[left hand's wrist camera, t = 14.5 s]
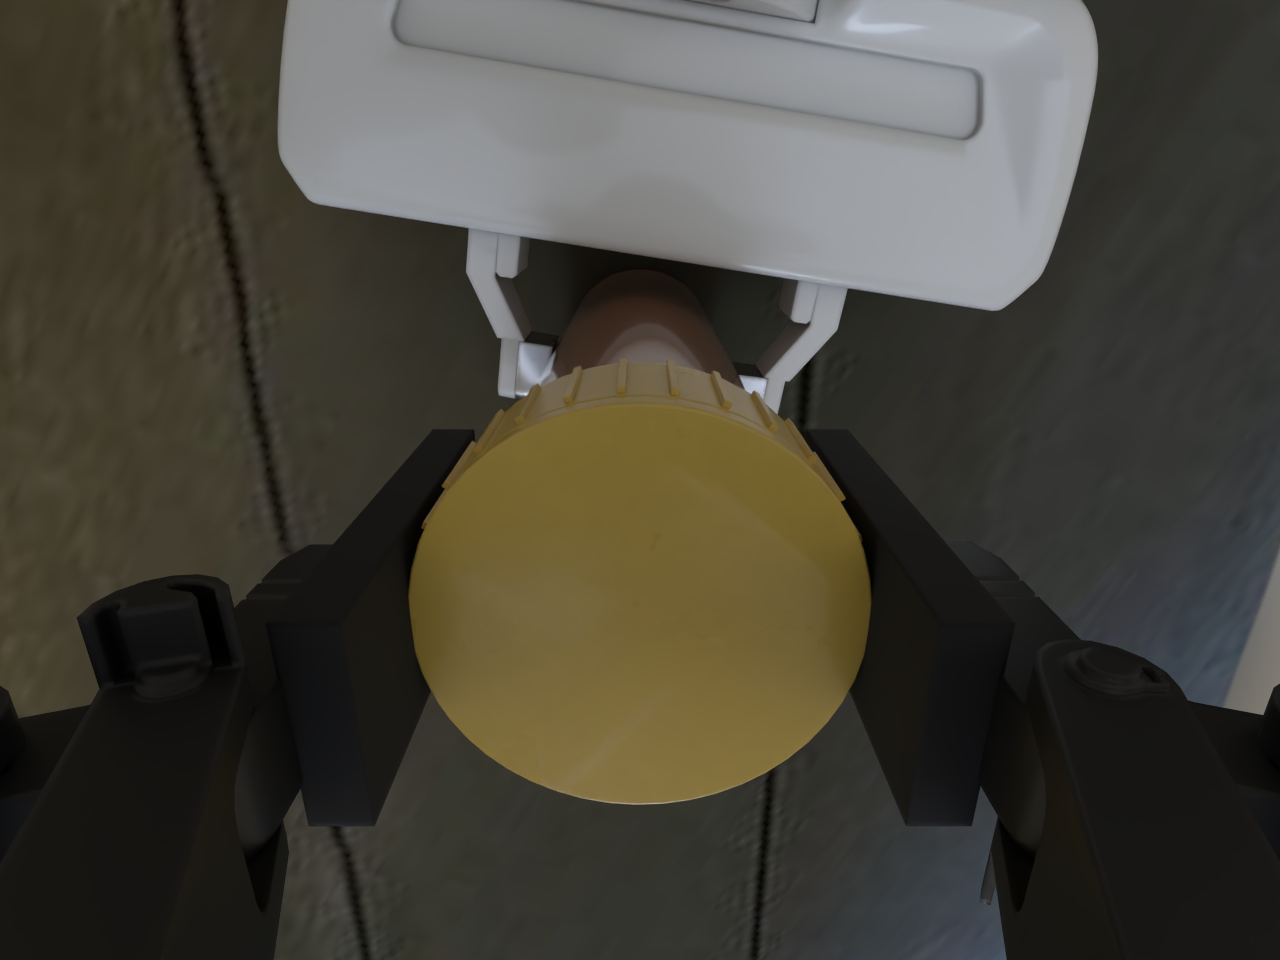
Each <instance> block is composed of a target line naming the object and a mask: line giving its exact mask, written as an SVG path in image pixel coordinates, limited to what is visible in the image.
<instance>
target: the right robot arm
mask: <svg viewBox="0 0 1280 960" xmlns="http://www.w3.org/2000/svg"><path fill="white" fill-rule="evenodd" d="M1097 69H1098V45H1097V37H1096V31H1095V27H1094V23H1093V21H1092V18H1091V16H1090V13H1089V11H1088V9H1087V8H1086V6H1085V5H1084V3H1083V2H1082V0H288V3H287V10H286V18H285V25H284V35H283V45H282V56H281V67H280V83H279V103H278V149H279V155H280V158H281V160H282V162H283V164H284V166H285V167H286V169H287V170H288V172H289V173H290V175H291V176H292V178H293V179H294V181H295V182H296V184H297V185H298V187H299V188H300V190H301V191H302V192H303V194H304V195H305V196H306V197H307V199H309V200H310V201H311V202H313V203H316V204H320V205H326V206H332V207H338V208H345V209H351V210H357V211H364V212H370V213H376V214H383V215H389V216H395V217H402V218H408V219H414V220H421V221H427V222H433V223H440V224H446V225H452V226H459V227H465V228H469V233H468V249H467V265H466V273H467V275H468V277H469V279H470V281H471V283H472V285H473V288H474V290H475V292H476V294H477V296H478V298H479V300H480V302H481V304H482V306H483V309H484V311H485V313H486V315H487V317H488V319H489V321H490V323H491V325H492V327H493V330H494V332H495V334H496V336H497V338H502V342H501V354H500V366H499V378H498V394H499V396H504V397H509V398H514V399H515V398H519V399H522V398H524V397H525V396H527V395H528V393H529V391H530V389H531V388H532V386H534V385H536V384H537V382H538V380H539V378H540V377H541V375H542V373H543V371H544V369H545V367H546V365H547V364H548V362H549V360H550V358H551V356H552V354H553V352H554V350H555V349H556V347H557V345H558V336H557V335H551V334H545V333H539V332H534V331H532V330H533V329H532V327H531V325H530V322H529V320H528V318H527V315H526V313H525V310H524V308H523V306H522V303H521V301H520V298H519V296H518V294H517V291H516V289H515V287H514V284H513V282H512V279H511V278H514V277H515V276H516V275H518V274H519V273H521V272H522V271H523V270H525V269H526V268H527V267H528V257H529V248H530V238H534V239H541V240H547V241H553V242H560V243H566V244H572V245H579V246H585V247H591V248H598V249H604V250H610V251H617V252H623V253H629V254H636V255H642V256H648V257H655V258H661V259H667V260H674V261H680V262H686V263H692V264H699V265H705V266H711V267H718V268H724V269H730V270H737V271H743V272H749V273H756V274H762V275H768V276H775V277H781V278H783V283H782V288H781V293H780V298H779V303H778V308H779V309H780V311H781V312H783V313H784V314H785V315H786V316H787V317H789V318H790V319H791V320H790V322H789V323H788V324H787V325H786V326H785V328H784V329H783V330H782V331H781V332H780V334H779V335H778V336H777V337H776V338H775V340H774V341H773V342H772V343H771V344H770V346H769V347H768V348H767V349H766V350H765V352H764V353H763V354H762V355H761V356H760V358H759V359H758V360H757V361H756V362H755V365H751V364H744V363H736V362H732V363H733V365H734V367H735V369H736V371H737V373H738V375H739V376H740V378H741V380H742V382H743V384H744V386H745V388H746V390H747V391H748V392H749V393H750V394H752V392H753V391H756V392H758V393H759V394H760V396H761V397H762V399H763V401H764V402H765V404H766V405H767V406H769V407H770V408H771V409H772V410H773V411H774V412H775V413H776V414H778V410H779V405H780V401H781V397H782V392H783V388H784V384H785V381H790V380H791V379H792V378H793V377H794V376H795V375H796V374H797V373H798V372H799V371H800V369H801V368H802V367H803V366H804V365H805V364H806V363H807V362H808V361H809V360H810V359H811V358H812V357H813V355H814V354H815V353H816V352H817V351H818V350H819V349H820V348H821V347H822V346H823V345H824V344H825V343H826V341H827V340H828V339H829V338H830V337H831V336H832V335H833V334H834V333H835V332H836V331H837V329H838V325H839V321H840V317H841V313H842V309H843V305H844V301H845V297H846V293H847V289H848V288H851V289H857V290H863V291H870V292H876V293H882V294H889V295H895V296H901V297H907V298H914V299H920V300H926V301H933V302H939V303H945V304H952V305H958V306H965V307H971V308H977V309H984V310H990V311H997V310H1000V309H1003V308H1004V307H1006V306H1007V305H1008V304H1010V303H1011V302H1012V301H1014V300H1015V299H1016V298H1017V297H1019V296H1020V295H1021V294H1022V293H1023V292H1024V291H1025V290H1027V289H1028V288H1029V287H1030V286H1031V285H1032V284H1034V283H1035V282H1036V281H1037V280H1038V278H1039V277H1040V276H1041V274H1042V273H1043V271H1044V269H1045V267H1046V264H1047V262H1048V260H1049V258H1050V255H1051V252H1052V250H1053V247H1054V244H1055V241H1056V238H1057V235H1058V232H1059V229H1060V226H1061V223H1062V220H1063V216H1064V213H1065V210H1066V207H1067V203H1068V200H1069V196H1070V193H1071V189H1072V186H1073V182H1074V179H1075V175H1076V171H1077V167H1078V163H1079V159H1080V155H1081V151H1082V147H1083V143H1084V139H1085V134H1086V130H1087V126H1088V121H1089V117H1090V112H1091V107H1092V102H1093V97H1094V92H1095V86H1096V79H1097Z"/></svg>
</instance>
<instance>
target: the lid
mask: <svg viewBox="0 0 1280 960" xmlns="http://www.w3.org/2000/svg"><path fill="white" fill-rule="evenodd" d="M442 487H443V488H445V490H444V491H443V493H442V494H441V496H440V497H439V499H438V500H437V502H436V503H435V505H434V506H433V508H432V510H431V511H430V513H429V514H428V516H427V517H426V519H425V520H424V522H423V524H422V527H421V528H422V529H424V531H423V533H422V535H421V538H420V540H419V542H418V545H417V549H416V553H415V556H414V560H413V563H412V567H411V573H410V581H409V589H408V599H409V608H410V616H411V624H412V632H413V639H414V646H415V653H416V657H417V660H418V663H419V665H420V668H421V671H422V674H423V676H424V678H425V680H426V682H427V684H428V686H429V688H430V690H431V692H432V693H433V695H434V697H435V699H436V700H437V701H438V703H439V704H440V706H441V707H442V709H443V710H444V712H445V713H446V714H447V716H448V717H449V718H450V720H451V721H452V722H453V723H454V724H455V725H456V726H457V727H458V728H459V730H460V731H461V732H462V733H463V734H464V735H465V736H466V737H467V738H468V739H469V740H470V741H471V742H473V743H474V744H475V745H476V746H477V747H478V748H480V749H481V750H482V751H483V752H484V753H485V754H487V755H488V756H490V757H491V758H493V759H494V760H495V761H497V762H498V763H500V764H501V765H503V766H504V767H506V768H507V769H509V770H511V771H513V772H515V773H517V774H519V775H520V776H522V777H524V778H526V779H528V780H530V781H532V782H535V783H537V784H540V785H542V786H545V787H547V788H550V789H552V790H555V791H558V792H561V793H565V794H569V795H572V796H576V797H579V798H584V799H590V800H595V801H601V802H607V803H620V804H635V805H637V804H664V803H671V802H678V801H686V800H691V799H696V798H700V797H704V796H708V795H712V794H716V793H719V792H722V791H724V790H727V789H730V788H733V787H736V786H738V785H741V784H743V783H745V782H747V781H749V780H752V779H754V778H756V777H758V776H760V775H762V774H764V773H766V772H767V771H769V770H771V769H772V768H774V767H775V766H777V765H778V764H780V763H782V762H783V761H785V760H786V759H788V758H789V757H790V756H792V755H793V754H794V753H795V752H797V751H798V750H799V749H800V748H802V747H803V746H804V745H805V744H807V743H808V742H809V741H810V740H811V739H812V738H813V737H814V736H815V735H816V734H817V733H818V732H819V731H820V730H821V728H822V727H823V726H824V725H825V724H826V723H827V722H828V721H829V719H830V718H831V717H832V715H833V714H834V713H835V711H836V710H837V709H838V707H839V706H840V705H841V703H842V702H843V700H844V698H845V696H846V695H847V693H848V691H849V689H850V688H851V686H852V684H853V682H854V680H855V678H856V675H857V673H858V670H859V668H860V665H861V663H862V660H863V657H864V654H865V649H866V642H867V635H868V628H869V620H870V612H871V603H872V593H871V579H870V573H869V569H868V565H867V560H866V556H865V552H864V548H863V546H862V543H861V542H862V537H861V534H860V533H859V531H858V530H857V528H856V527H855V525H854V524H853V522H852V520H851V519H850V517H849V515H848V514H847V512H846V510H845V508H844V507H843V505H842V503H841V501H843V500H845V499H846V498H845V496H844V495H843V493H842V492H841V490H840V489H839V487H838V486H837V484H836V483H835V481H834V480H833V478H832V477H831V475H830V474H829V472H828V471H827V469H826V468H825V466H824V465H823V463H822V462H821V460H820V459H819V457H818V456H817V454H816V453H815V452H812V451H811V449H810V448H809V446H808V445H807V443H806V442H805V440H804V439H803V437H802V435H801V434H800V432H799V431H798V429H797V428H796V426H795V425H794V423H793V422H792V421H791V420H790V419H789V418H788V419H787V420H786V421H784V420H783V419H782V418H781V417H779V416H778V415H777V414H776V413H775V412H774V411H773V410H772V409H771V408H770V407H769V406H767V405H766V404H765V402H764V401H763V399H762V397H761V396H760V394H759V393H758V392H756V391H753V392H752V394H750V393H749V392H747V391H746V390H744V389H742V388H740V387H738V386H736V385H734V384H732V383H730V382H728V381H726V380H724V379H722V378H721V376H720V373H719V372H716V371H714V370H713V371H712V373H711V374H708V373H705V372H702V371H700V370H696V369H691V368H687V367H682V366H677V365H675V362H674V360H667V363H666V364H663V363H651V362H631V363H628V361H627V358H623V359H620V363H615V364H609V365H603V366H598V367H592V368H588V369H585V370H582V368H581V366H579V367H575V368H574V369H573V372H572V374H569V375H566V376H563V377H561V378H559V379H556V380H554V381H552V382H550V383H548V384H546V385H544V386H541V387H540V386H539V384H538V383H537V384H536V385H534V386H532V388H531V389H530V391H529V393H528V395H527V396H525V397H524V398H522V399H521V400H519V401H518V402H516V403H515V404H514V405H513V406H512V407H511V408H509V409H508V410H507V411H506V412H504V411H503V410H502V409H500V410H499V411H498V412H497V413H496V414H495V416H494V418H493V419H492V421H491V422H490V424H489V425H488V427H487V428H486V430H485V431H484V433H483V435H482V436H481V438H480V439H479V441H478V442H477V443H475V442H474V441H472V442H471V443H470V445H469V446H468V448H467V449H466V451H465V452H464V454H463V455H462V457H461V458H460V460H459V461H458V463H457V464H456V466H455V467H454V469H453V470H452V471H451V473H450V474H449V476H448V477H447V479H446V480H445V482H444V483H443V485H442Z"/></svg>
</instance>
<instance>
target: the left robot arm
mask: <svg viewBox="0 0 1280 960" xmlns="http://www.w3.org/2000/svg"><path fill="white" fill-rule="evenodd" d="M472 441H474V442H475V435H474V430H432V431H431V432H430V434H429V435H428V436H427V437H426V438H425V439H424V441H423V442H422V443H421V444H420V445H419V446H418V447H417V449H416V450H415V451H414V452H413V453H412V454H411V455H410V457H409V458H408V459H407V460H406V461H405V462H404V464H403V465H402V466H401V467H400V468H399V469H398V470H397V472H396V473H395V474H394V475H393V476H392V477H391V479H390V480H389V481H388V482H387V483H386V484H385V485H384V487H383V488H382V489H381V490H380V491H379V492H378V494H377V495H376V496H375V497H374V498H373V499H372V500H371V502H370V503H369V504H368V505H367V506H366V507H365V508H364V510H363V511H362V512H361V513H360V514H359V515H358V517H357V518H356V519H355V520H354V521H353V522H352V523H351V525H350V526H349V527H348V528H347V529H346V530H345V532H344V533H343V534H342V535H341V536H340V537H339V538H338V540H337V541H336V542H335V543H334V544H333V545H308V546H307V547H305V548H303V549H301V550H299V551H297V552H296V553H294V554H292V555H290V556H288V557H286V558H285V559H283V560H281V561H280V562H279V563H278V564H277V565H276V566H275V567H274V568H273V569H272V570H271V571H270V572H269V573H268V574H267V575H266V576H265V577H264V578H263V579H262V584H257V585H256V586H255V587H254V588H253V589H252V590H251V591H250V593H249V594H248V595H247V596H246V597H247V598H246V600H242V601H241V602H240V603H239V604H238V605H237V606H236V607H235V608H234V606H233V602H232V597H231V593H230V589H229V585H228V584H226V583H225V582H223V581H222V580H220V579H219V578H217V577H211V576H205V575H198V574H196V575H177V576H168V577H164V578H159V579H154V580H149V581H144V582H141V583H138V584H135V585H132V586H129V587H127V588H124V589H121V590H118V591H115V592H113V593H112V594H110V595H108V596H106V597H104V598H102V599H100V600H98V601H97V602H95V603H93V604H91V605H90V606H89V607H88V608H87V609H86V610H85V611H84V612H83V613H81V614H80V615H79V616H78V617H77V620H78V623H79V626H80V629H81V632H82V635H83V638H84V642H85V645H86V648H87V651H88V654H89V657H90V660H91V663H92V666H93V670H94V673H95V676H96V679H97V682H98V685H99V688H100V689H99V691H98V693H97V695H96V696H95V698H94V700H93V702H92V703H91V705H87V706H83V707H77V708H72V709H67V710H61V711H56V712H51V713H45V714H40V715H35V716H29V717H24V718H19V719H18V716H17V713H16V711H15V708H14V705H13V703H12V700H11V697H10V695H9V692H8V691H7V690H6V689H4V688H3V687H1V686H0V960H273V959H274V953H275V946H276V939H277V932H278V925H279V918H280V911H281V904H282V897H283V890H284V883H285V876H286V869H287V862H288V855H289V850H288V842H287V836H286V831H285V827H284V823H283V818H284V816H285V815H286V813H287V811H288V809H289V808H290V806H291V804H292V802H293V801H294V799H295V797H296V795H297V794H298V792H299V790H300V788H301V792H302V797H303V801H304V806H305V811H306V815H307V820H308V825H309V826H375V824H376V821H377V819H378V816H379V814H380V812H381V809H382V807H383V804H384V802H385V800H386V797H387V795H388V793H389V790H390V788H391V785H392V783H393V781H394V778H395V776H396V773H397V771H398V769H399V766H400V764H401V761H402V759H403V757H404V754H405V752H406V749H407V747H408V745H409V742H410V740H411V737H412V735H413V733H414V730H415V728H416V726H417V723H418V721H419V718H420V716H421V714H422V711H423V709H424V706H425V704H426V702H427V699H428V697H429V694H430V692H431V690H430V688H429V686H428V684H427V682H426V680H425V678H424V676H423V674H422V671H421V668H420V665H419V663H418V660H417V657H416V653H415V646H414V639H413V632H412V624H411V616H410V608H409V599H408V589H409V581H410V573H411V567H412V563H413V560H414V556H415V553H416V549H417V545H418V542H419V540H420V538H421V535H422V533H423V531H424V529H422V528H421V527H422V524H423V522H424V520H425V519H426V517H427V516H428V514H429V513H430V511H431V510H432V508H433V506H434V505H435V503H436V502H437V500H438V499H439V497H440V496H441V494H442V493H443V491H444V490H445V488H443V487H442V485H443V483H444V482H445V480H446V479H447V477H448V476H449V474H450V473H451V471H452V470H453V469H454V467H455V466H456V464H457V463H458V461H459V460H460V458H461V457H462V455H463V454H464V452H465V451H466V449H467V448H468V446H469V445H470V443H471V442H472ZM805 442H806V443H807V445H808V446H809V448H810V449H811V451H812V452H815V453H816V454H817V456H818V457H819V459H820V460H821V462H822V463H823V465H824V466H825V468H826V469H827V471H828V472H829V474H830V475H831V477H832V478H833V480H834V481H835V483H836V484H837V486H838V487H839V489H840V490H841V492H842V493H843V495H844V496H845V498H846V499H845V500H843V501H841V503H842V505H843V507H844V508H845V510H846V512H847V514H848V515H849V517H850V519H851V520H852V522H853V524H854V525H855V527H856V528H857V530H858V531H859V533H860V534H861V537H862V542H861V543H862V546H863V548H864V552H865V556H866V560H867V565H868V569H869V573H870V579H871V593H872V603H871V612H870V620H869V628H868V635H867V642H866V649H865V654H864V657H863V660H862V663H861V665H860V668H859V670H858V673H857V675H856V678H855V680H854V682H853V684H852V686H851V688H850V689H849V691H850V693H851V696H852V698H853V701H854V703H855V705H856V708H857V710H858V713H859V715H860V717H861V720H862V722H863V724H864V727H865V729H866V732H867V734H868V736H869V739H870V741H871V744H872V746H873V748H874V751H875V753H876V756H877V758H878V760H879V763H880V765H881V768H882V770H883V772H884V775H885V777H886V779H887V782H888V784H889V787H890V789H891V791H892V794H893V796H894V799H895V801H896V803H897V806H898V808H899V811H900V813H901V815H902V818H903V820H904V822H905V825H906V826H972V822H973V818H974V813H975V808H976V804H977V799H978V794H979V790H980V785H981V787H982V789H983V791H984V792H985V794H986V796H987V798H988V799H989V801H990V803H991V805H992V806H993V808H994V810H995V812H996V813H997V815H998V818H997V823H996V827H995V831H994V836H993V840H992V844H991V849H990V853H989V857H988V862H987V866H986V870H985V875H984V879H983V884H982V889H981V896H980V902H981V903H985V904H988V905H990V904H991V900H992V896H993V892H994V888H997V895H998V902H999V909H1000V916H1001V923H1002V930H1003V937H1004V944H1005V950H1006V957H1007V960H1280V684H1279V685H1277V686H1276V687H1274V689H1273V691H1272V694H1271V697H1270V699H1269V702H1268V704H1267V707H1266V710H1265V713H1264V715H1259V714H1254V713H1249V712H1243V711H1238V710H1233V709H1227V708H1222V707H1217V706H1211V705H1206V704H1201V703H1195V702H1191V701H1188V700H1187V698H1186V697H1185V695H1184V693H1183V691H1182V690H1181V688H1180V687H1179V686H1178V685H1177V683H1176V682H1175V681H1174V680H1173V679H1172V678H1171V677H1170V676H1169V675H1168V674H1167V672H1165V671H1163V670H1162V669H1160V668H1159V667H1157V666H1156V665H1154V664H1153V663H1151V662H1149V661H1148V660H1146V659H1145V658H1142V657H1140V656H1138V655H1135V654H1133V653H1130V652H1128V651H1125V650H1123V649H1121V648H1118V647H1114V646H1110V645H1106V644H1102V643H1098V642H1093V641H1084V640H1080V639H1079V638H1078V636H1077V635H1076V634H1075V633H1074V632H1073V631H1072V630H1071V629H1070V628H1069V627H1068V626H1067V625H1066V624H1065V623H1064V622H1063V621H1062V620H1061V619H1060V618H1059V617H1058V616H1057V615H1056V614H1055V613H1054V612H1053V611H1052V610H1051V609H1050V608H1049V607H1048V606H1047V605H1046V604H1045V603H1044V602H1043V601H1042V600H1041V599H1040V598H1039V597H1035V593H1034V592H1033V591H1032V590H1031V589H1030V588H1029V587H1028V586H1027V585H1026V584H1025V583H1024V581H1019V576H1018V575H1017V574H1016V573H1015V572H1014V571H1013V570H1012V569H1011V568H1010V567H1009V566H1008V565H1007V564H1006V563H1005V562H1004V561H1003V560H1002V559H1001V558H999V557H997V556H996V555H994V554H992V553H990V552H988V551H986V550H985V549H983V548H981V547H979V546H977V545H975V544H973V543H972V542H945V541H944V540H943V539H942V538H941V537H940V536H939V534H938V533H937V532H936V531H935V530H934V529H933V527H932V526H931V525H930V524H929V523H928V522H927V521H926V519H925V518H924V517H923V516H922V515H921V514H920V513H919V511H918V510H917V509H916V508H915V507H914V506H913V504H912V503H911V502H910V501H909V500H908V499H907V498H906V496H905V495H904V494H903V493H902V492H901V491H900V489H899V488H898V487H897V486H896V485H895V484H894V483H893V481H892V480H891V479H890V478H889V477H888V476H887V475H886V473H885V472H884V471H883V470H882V469H881V468H880V466H879V465H878V464H877V463H876V462H875V461H874V460H873V458H872V457H871V456H870V455H869V454H868V453H867V452H866V450H865V449H864V448H863V447H862V446H861V445H860V443H859V442H858V441H857V440H856V439H855V438H854V437H853V435H852V434H851V433H850V432H849V431H848V430H806V441H805Z"/></svg>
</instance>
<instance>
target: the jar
mask: <svg viewBox="0 0 1280 960" xmlns="http://www.w3.org/2000/svg"><path fill="white" fill-rule="evenodd" d="M623 358H627V361H628V363H631V362H651V363H663V364H666V363H667V360H674V362H675V365H677V366H682V367H687V368H691V369H696V370H700V371H702V372H705V373H708V374H711V373H712V371H713V370H714V371H716V372H719V373H720V376H721V378H722V379H724V380H726V381H728V382H730V383H732V384H734V385H736V386H738V387H740V388H742V389H744V390H746V388H745V386H744V384H743V382H742V380H741V378H740V376H739V375H738V373H737V371H736V369H735V367H734V365H733V363H732V362H731V360H730V358H729V356H728V354H727V352H726V350H725V348H724V347H723V345H722V343H721V341H720V339H719V337H718V335H717V333H716V332H715V330H714V328H713V326H712V324H711V322H710V320H709V319H708V317H707V315H706V313H705V311H704V309H703V307H702V306H701V304H700V302H699V301H698V299H697V298H696V297H695V295H694V294H693V293H692V292H691V291H690V290H689V289H688V288H687V287H686V286H685V285H684V284H682V283H681V282H680V281H678V280H677V279H675V278H673V277H671V276H669V275H667V274H664V273H661V272H658V271H653V270H646V269H634V270H627V271H622V272H619V273H616V274H613V275H611V276H609V277H607V278H605V279H604V280H602V281H601V282H599V283H598V284H596V285H595V286H594V287H593V288H592V289H591V290H590V291H589V292H588V293H587V294H586V295H585V297H584V298H583V299H582V301H581V303H580V304H579V306H578V308H577V309H576V311H575V313H574V315H573V317H572V319H571V321H570V323H569V324H568V326H567V328H566V330H565V332H564V334H563V336H562V337H561V339H560V341H559V343H558V345H557V347H556V349H555V350H554V352H553V354H552V356H551V358H550V360H549V362H548V364H547V365H546V367H545V369H544V371H543V373H542V375H541V377H540V378H539V380H538V382H537V383H538V384H539V386H540V387H541V386H544V385H546V384H548V383H550V382H552V381H554V380H556V379H559V378H561V377H563V376H566V375H569V374H572V372H573V369H574V368H575V367H579V366H581V368H582V370H585V369H588V368H592V367H598V366H603V365H609V364H615V363H620V359H623ZM746 391H747V390H746ZM747 392H748V391H747Z"/></svg>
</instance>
